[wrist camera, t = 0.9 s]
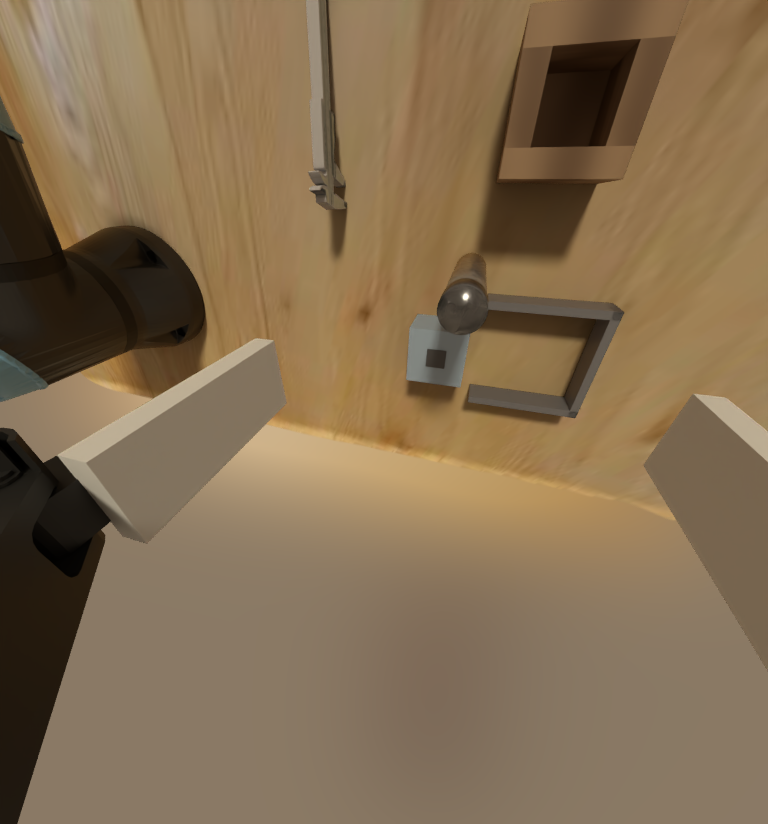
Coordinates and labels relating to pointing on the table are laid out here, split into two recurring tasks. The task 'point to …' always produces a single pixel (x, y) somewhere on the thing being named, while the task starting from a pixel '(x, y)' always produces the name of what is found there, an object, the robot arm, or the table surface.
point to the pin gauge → (465, 297)
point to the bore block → (585, 88)
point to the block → (435, 353)
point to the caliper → (322, 111)
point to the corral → (586, 367)
